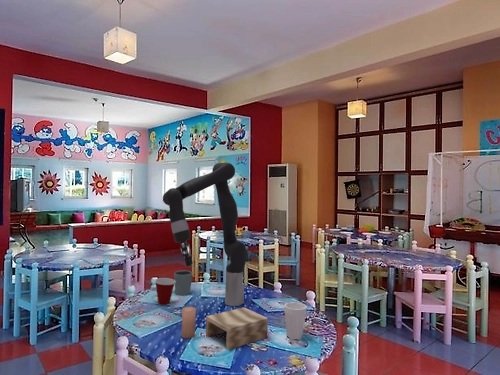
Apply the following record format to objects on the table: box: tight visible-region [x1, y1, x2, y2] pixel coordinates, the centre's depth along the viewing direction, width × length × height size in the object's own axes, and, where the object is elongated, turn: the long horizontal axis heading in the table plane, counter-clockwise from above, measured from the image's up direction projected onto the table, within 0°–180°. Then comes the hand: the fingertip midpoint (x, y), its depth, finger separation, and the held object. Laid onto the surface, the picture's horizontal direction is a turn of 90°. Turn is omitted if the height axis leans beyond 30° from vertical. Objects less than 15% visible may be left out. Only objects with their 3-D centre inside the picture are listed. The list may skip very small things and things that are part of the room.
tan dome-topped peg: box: [180, 306, 197, 339], centre depth 148 cm, size 5×5×11 cm
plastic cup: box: [154, 277, 176, 306], centre depth 187 cm, size 11×11×12 cm
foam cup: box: [283, 301, 308, 340], centre depth 151 cm, size 10×9×13 cm
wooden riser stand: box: [205, 307, 269, 351], centre depth 149 cm, size 20×16×8 cm
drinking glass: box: [173, 270, 193, 296], centre depth 204 cm, size 10×10×12 cm
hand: (189, 265), depth 164 cm, fingers open, 8 cm apart
